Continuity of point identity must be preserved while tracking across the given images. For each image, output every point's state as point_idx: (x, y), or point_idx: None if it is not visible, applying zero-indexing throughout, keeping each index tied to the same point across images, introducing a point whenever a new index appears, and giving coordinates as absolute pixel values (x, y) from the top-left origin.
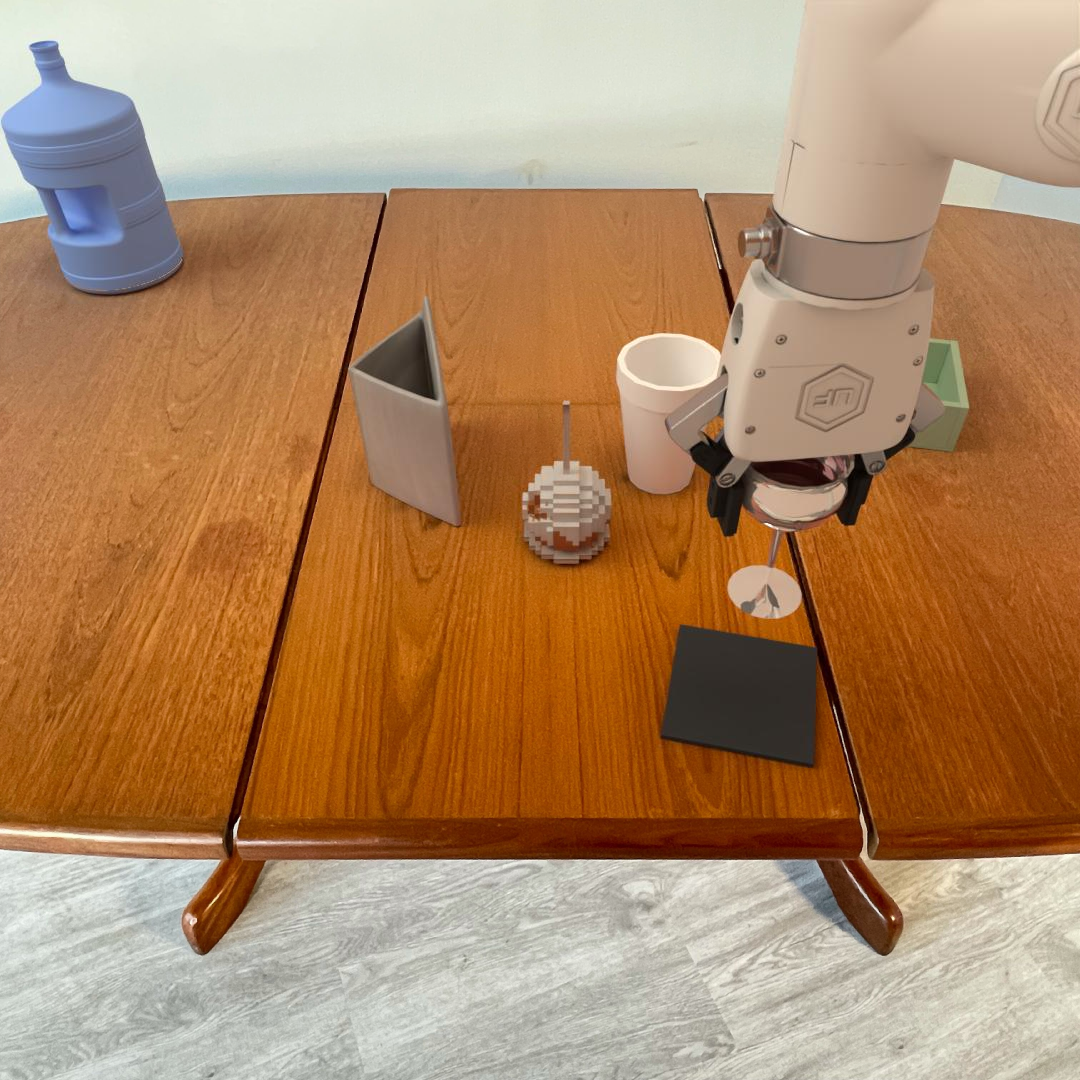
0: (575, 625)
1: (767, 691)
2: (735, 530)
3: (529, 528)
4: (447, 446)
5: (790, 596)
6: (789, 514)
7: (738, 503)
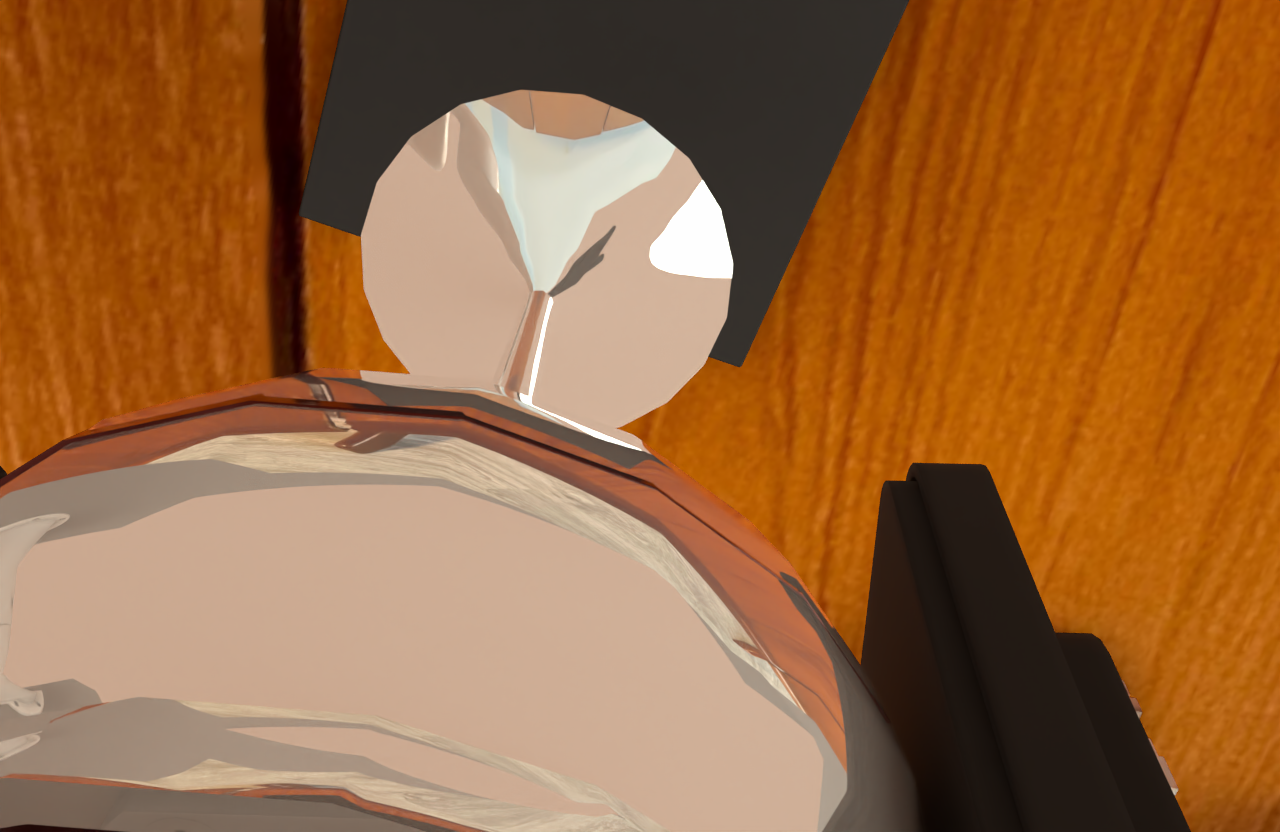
0: (1079, 412)
1: (513, 52)
2: (909, 498)
3: (1166, 768)
4: None
5: (425, 216)
6: (515, 490)
7: (1013, 721)
